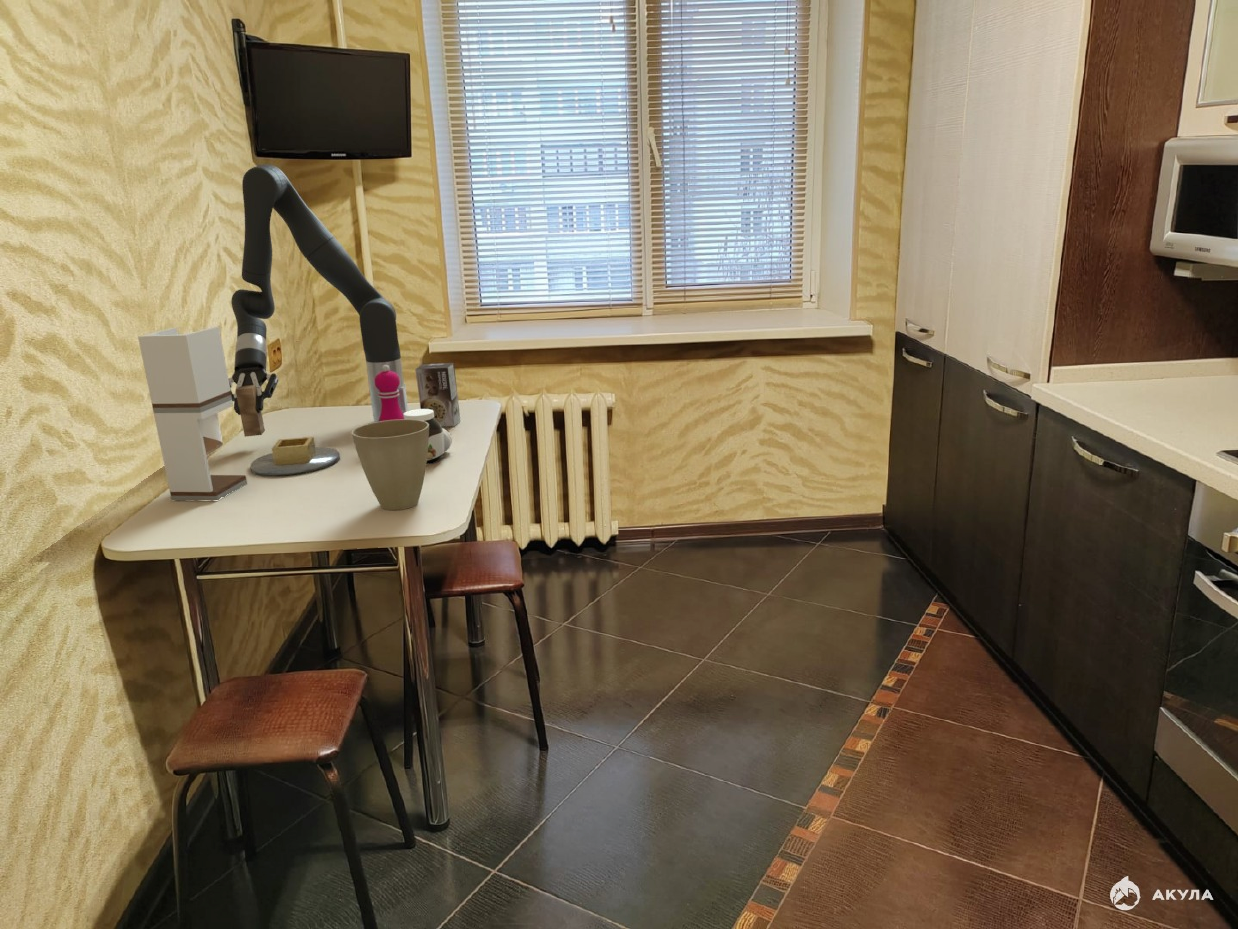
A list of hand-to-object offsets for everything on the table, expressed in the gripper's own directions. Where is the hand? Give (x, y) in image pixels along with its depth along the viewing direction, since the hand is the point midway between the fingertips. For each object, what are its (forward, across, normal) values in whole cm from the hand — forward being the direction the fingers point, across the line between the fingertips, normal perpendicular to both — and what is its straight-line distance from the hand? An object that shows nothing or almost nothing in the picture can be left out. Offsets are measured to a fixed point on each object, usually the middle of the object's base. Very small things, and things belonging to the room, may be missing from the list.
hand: (248, 412), depth 225 cm
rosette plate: (+18, +13, -4) cm, 22 cm away
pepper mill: (+11, +35, +5) cm, 37 cm away
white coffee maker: (+30, -2, -16) cm, 34 cm away
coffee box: (0, +45, +16) cm, 48 cm away
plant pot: (+45, +40, -29) cm, 67 cm away
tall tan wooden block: (+3, 0, +6) cm, 6 cm away
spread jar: (+22, +44, -6) cm, 49 cm away
